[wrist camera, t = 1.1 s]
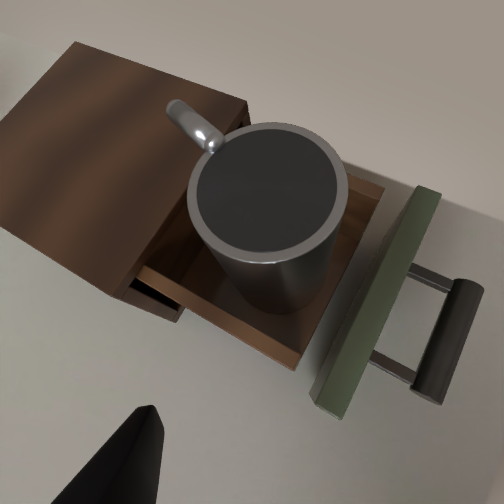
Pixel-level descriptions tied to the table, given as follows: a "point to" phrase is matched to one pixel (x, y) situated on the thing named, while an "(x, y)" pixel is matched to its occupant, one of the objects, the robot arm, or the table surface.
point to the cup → (266, 206)
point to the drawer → (307, 318)
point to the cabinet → (104, 167)
